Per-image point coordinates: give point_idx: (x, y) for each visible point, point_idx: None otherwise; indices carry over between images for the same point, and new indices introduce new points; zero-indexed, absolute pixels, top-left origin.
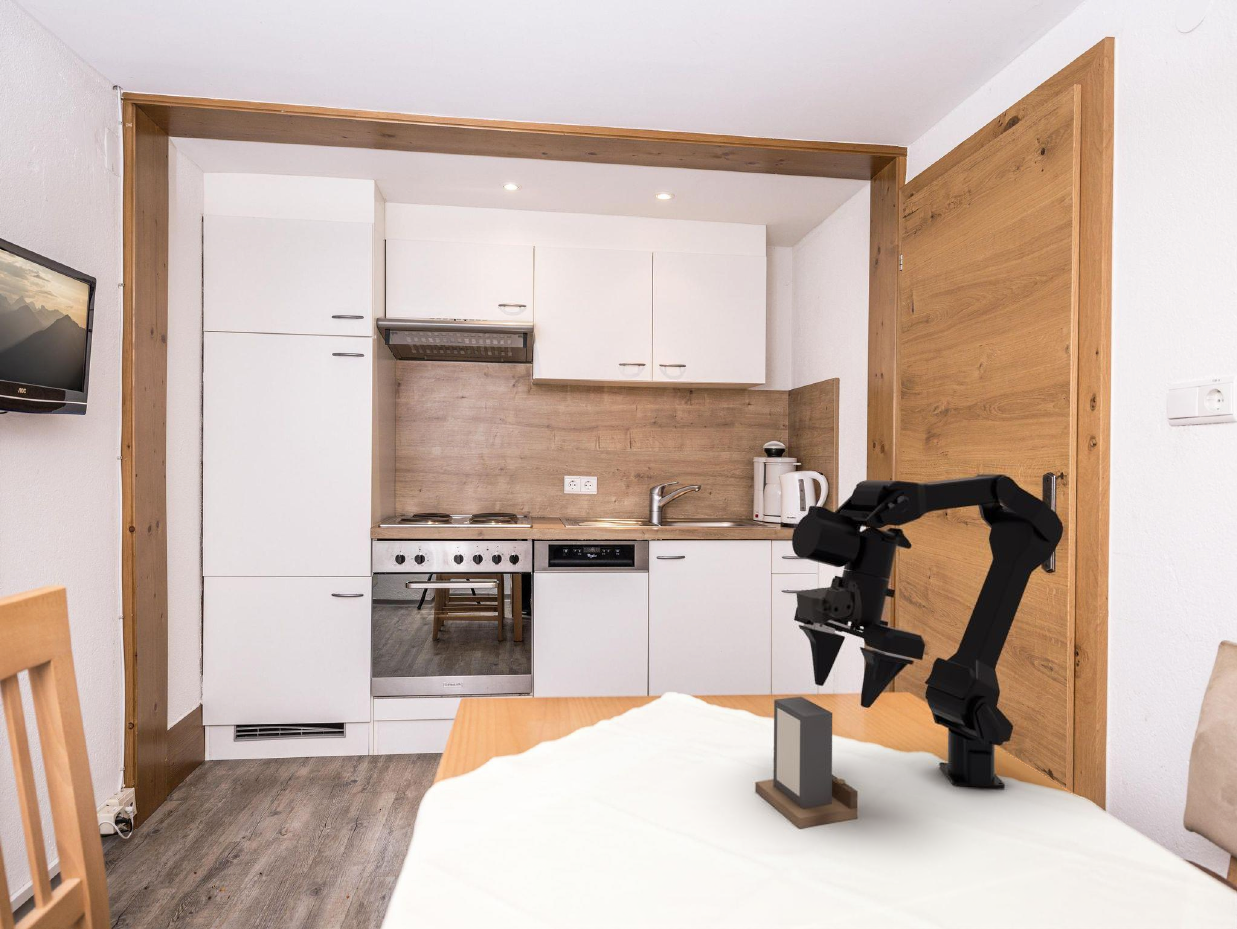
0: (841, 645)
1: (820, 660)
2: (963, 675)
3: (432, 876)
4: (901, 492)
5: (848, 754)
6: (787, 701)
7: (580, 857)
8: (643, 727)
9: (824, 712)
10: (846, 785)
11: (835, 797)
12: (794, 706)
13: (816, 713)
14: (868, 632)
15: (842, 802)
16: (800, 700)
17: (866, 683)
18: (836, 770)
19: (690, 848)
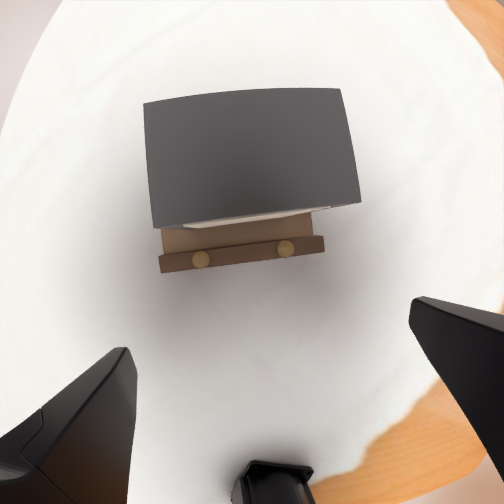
0: (495, 465)
1: (480, 344)
2: None
3: None
4: None
5: (390, 368)
6: (314, 120)
7: None
8: (493, 109)
9: (162, 197)
10: (188, 265)
11: (206, 248)
12: (254, 115)
13: (158, 159)
14: None
15: (185, 251)
16: (317, 173)
17: (62, 399)
18: (347, 325)
19: (159, 14)
